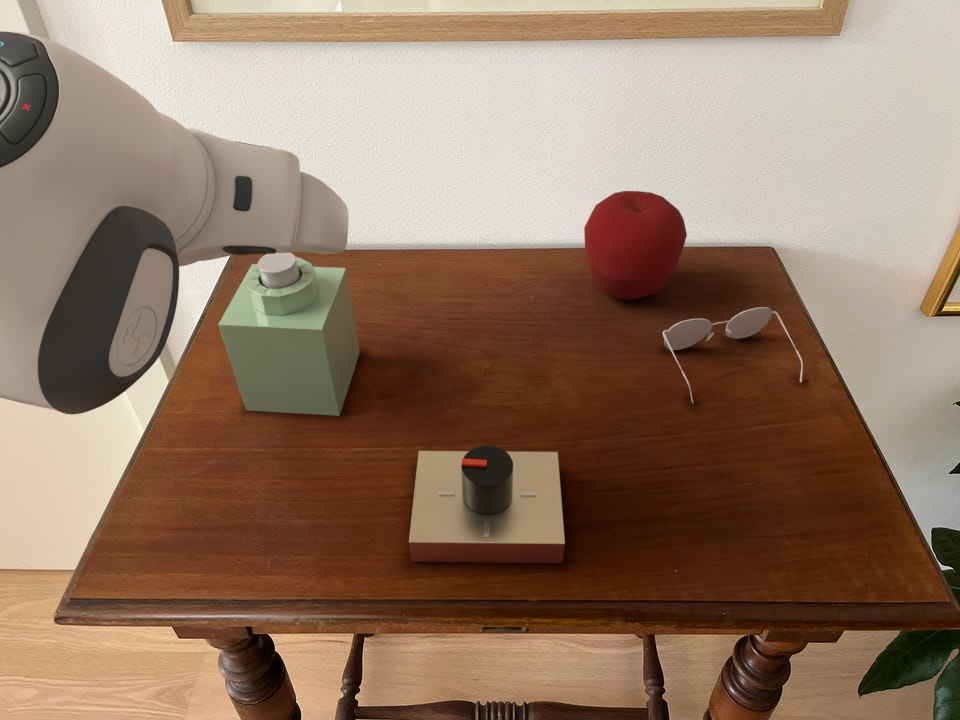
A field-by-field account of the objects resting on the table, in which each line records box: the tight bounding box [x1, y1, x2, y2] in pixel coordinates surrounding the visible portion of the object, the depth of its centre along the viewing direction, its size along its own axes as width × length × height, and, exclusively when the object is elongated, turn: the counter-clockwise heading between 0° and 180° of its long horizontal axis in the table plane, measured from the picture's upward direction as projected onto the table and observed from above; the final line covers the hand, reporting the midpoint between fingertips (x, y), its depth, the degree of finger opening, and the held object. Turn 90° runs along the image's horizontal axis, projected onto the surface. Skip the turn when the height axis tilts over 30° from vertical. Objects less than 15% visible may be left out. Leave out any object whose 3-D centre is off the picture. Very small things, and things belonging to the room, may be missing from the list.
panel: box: [408, 450, 566, 564], centre depth 65 cm, size 10×13×3 cm
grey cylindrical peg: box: [257, 252, 300, 289], centre depth 69 cm, size 4×4×2 cm
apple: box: [583, 190, 688, 301], centre depth 86 cm, size 12×12×13 cm
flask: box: [217, 256, 361, 417], centre depth 75 cm, size 10×10×14 cm
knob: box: [461, 445, 513, 514], centre depth 62 cm, size 4×4×4 cm
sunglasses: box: [662, 306, 804, 404], centre depth 79 cm, size 14×8×5 cm, turn 104°
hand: (247, 239), depth 61 cm, fingers closed
